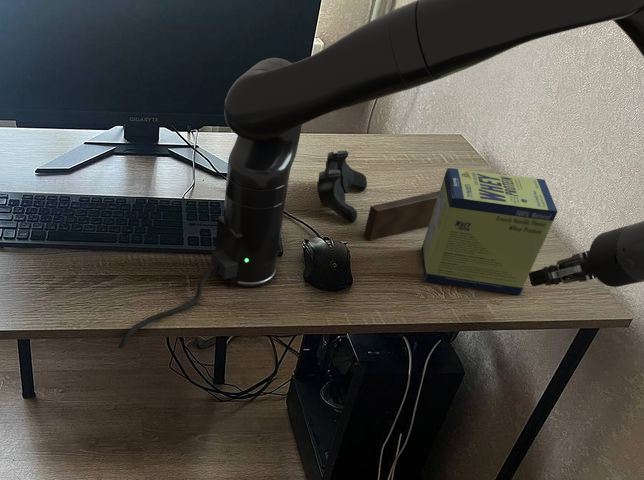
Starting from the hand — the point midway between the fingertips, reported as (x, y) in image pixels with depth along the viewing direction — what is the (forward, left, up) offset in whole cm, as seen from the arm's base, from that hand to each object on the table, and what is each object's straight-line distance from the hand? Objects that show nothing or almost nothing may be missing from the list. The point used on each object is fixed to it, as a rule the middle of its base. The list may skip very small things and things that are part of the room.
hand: (533, 278), depth 105 cm
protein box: (0, +11, -6) cm, 13 cm away
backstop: (0, +27, -6) cm, 27 cm away
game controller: (-7, +39, -6) cm, 40 cm away
